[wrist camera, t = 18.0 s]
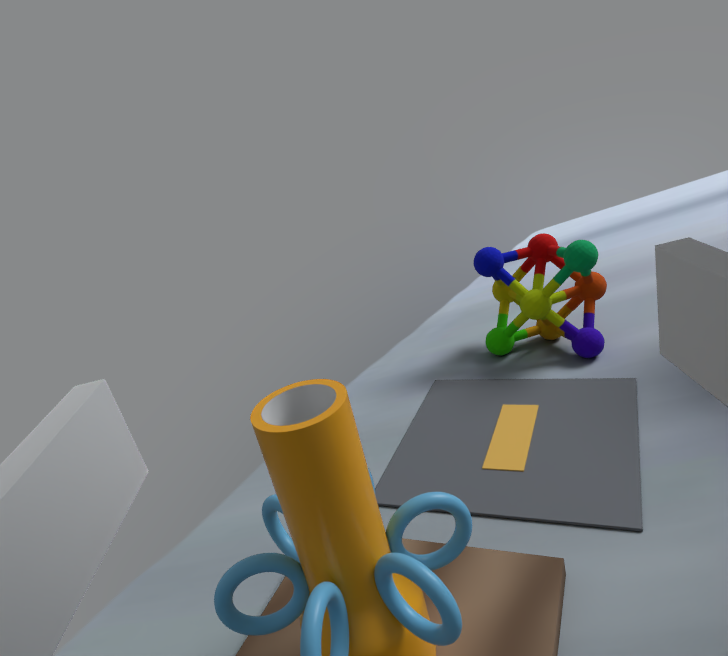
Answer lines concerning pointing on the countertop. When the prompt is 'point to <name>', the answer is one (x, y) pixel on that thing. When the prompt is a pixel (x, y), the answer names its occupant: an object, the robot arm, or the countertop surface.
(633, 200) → the countertop surface
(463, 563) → the board
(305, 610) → the cylinder
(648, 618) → the countertop surface
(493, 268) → the molecular model
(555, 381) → the mat
